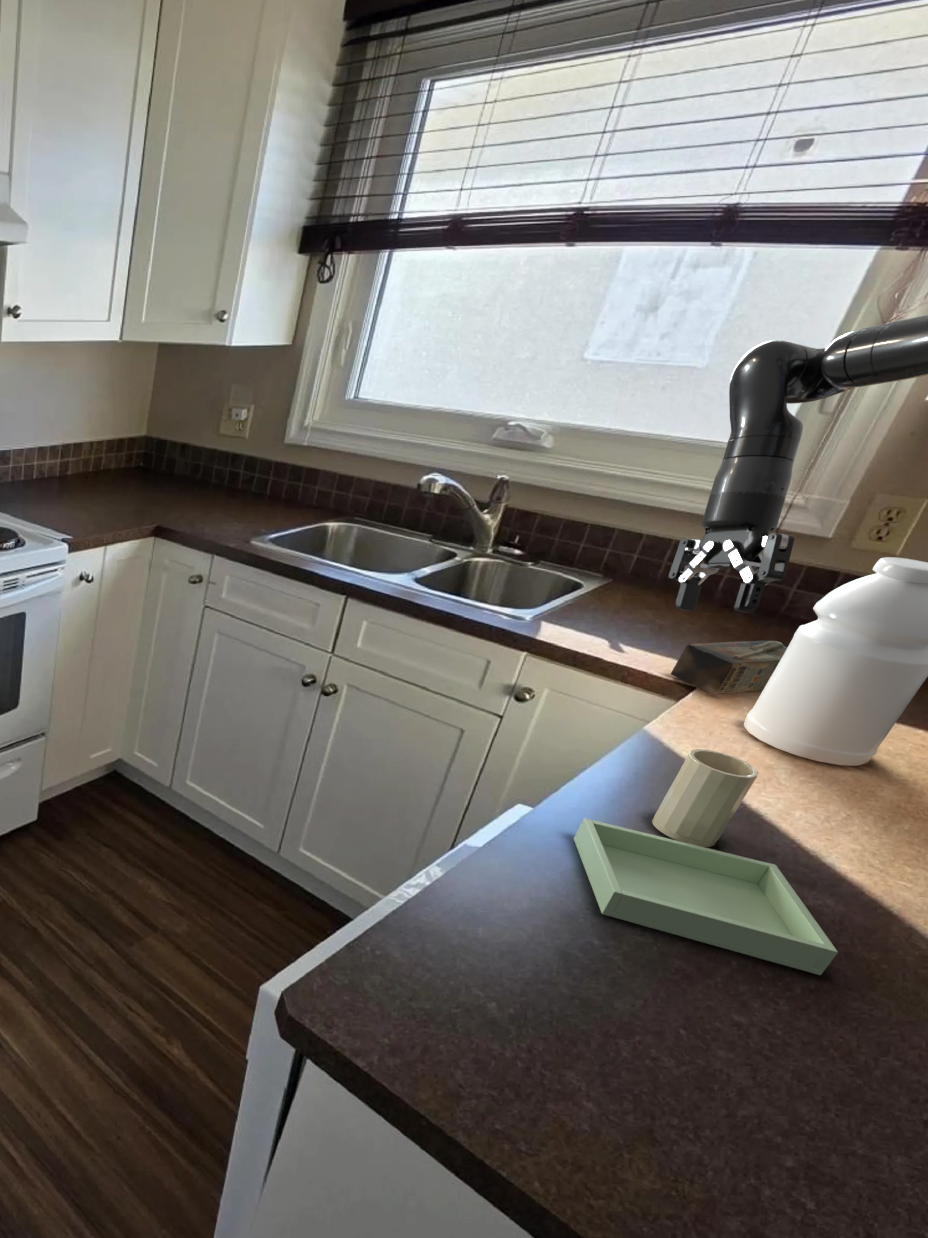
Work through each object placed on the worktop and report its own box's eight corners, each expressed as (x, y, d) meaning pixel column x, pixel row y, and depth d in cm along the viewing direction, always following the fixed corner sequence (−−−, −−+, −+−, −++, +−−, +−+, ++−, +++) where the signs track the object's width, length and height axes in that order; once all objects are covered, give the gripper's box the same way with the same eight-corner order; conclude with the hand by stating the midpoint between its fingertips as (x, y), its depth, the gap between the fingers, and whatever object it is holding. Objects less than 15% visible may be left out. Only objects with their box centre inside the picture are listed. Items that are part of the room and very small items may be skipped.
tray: (761, 886, 89) (775, 864, 88) (820, 975, 77) (838, 952, 76) (573, 838, 96) (583, 817, 94) (601, 914, 84) (614, 891, 83)
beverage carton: (800, 689, 136) (821, 654, 133) (714, 697, 132) (733, 661, 129) (749, 669, 143) (768, 635, 140) (665, 676, 139) (683, 641, 136)
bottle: (730, 711, 128) (826, 542, 115) (847, 736, 122) (962, 560, 109) (756, 749, 117) (865, 567, 104) (886, 778, 111) (1019, 589, 98)
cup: (706, 825, 99) (746, 757, 95) (723, 853, 94) (767, 782, 90) (645, 811, 102) (682, 744, 97) (659, 837, 97) (699, 768, 92)
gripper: (830, 493, 103) (792, 617, 105) (723, 504, 117) (691, 613, 119) (774, 484, 103) (737, 608, 105) (673, 495, 117) (642, 605, 119)
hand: (712, 610), depth 112 cm, fingers open, 8 cm apart
